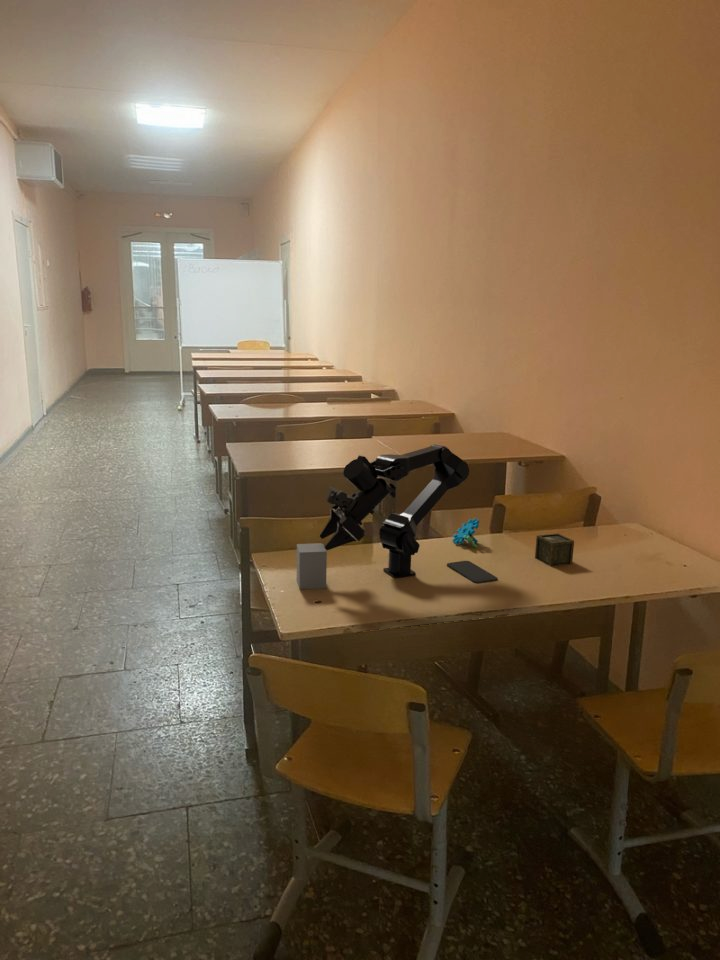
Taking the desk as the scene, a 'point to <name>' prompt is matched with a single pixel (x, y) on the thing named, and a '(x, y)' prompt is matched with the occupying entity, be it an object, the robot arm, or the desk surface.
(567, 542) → the wooden crate
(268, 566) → the desk surface
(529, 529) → the desk surface
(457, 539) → the blue green lobed piece
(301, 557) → the grey rectangular block
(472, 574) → the phone
